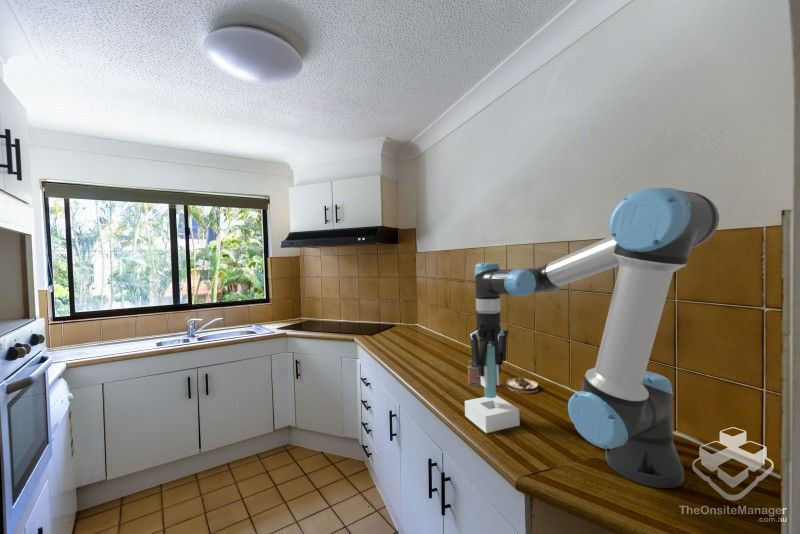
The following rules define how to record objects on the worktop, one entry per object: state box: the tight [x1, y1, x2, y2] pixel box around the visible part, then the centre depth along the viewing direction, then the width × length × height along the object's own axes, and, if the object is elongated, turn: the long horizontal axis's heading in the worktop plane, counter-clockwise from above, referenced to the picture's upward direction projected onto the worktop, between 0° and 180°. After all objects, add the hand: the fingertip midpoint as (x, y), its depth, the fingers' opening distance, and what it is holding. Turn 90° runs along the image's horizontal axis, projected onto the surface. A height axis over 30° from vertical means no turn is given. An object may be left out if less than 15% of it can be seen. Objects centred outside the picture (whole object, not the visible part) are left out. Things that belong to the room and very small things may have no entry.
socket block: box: [464, 394, 521, 434], centre depth 105 cm, size 12×12×5 cm
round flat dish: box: [505, 377, 540, 395], centre depth 131 cm, size 15×15×4 cm
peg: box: [483, 343, 497, 398], centre depth 105 cm, size 4×4×16 cm
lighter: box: [466, 360, 483, 387], centre depth 136 cm, size 8×3×10 cm, turn 84°
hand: (489, 384), depth 105 cm, fingers closed on peg, 3 cm apart
